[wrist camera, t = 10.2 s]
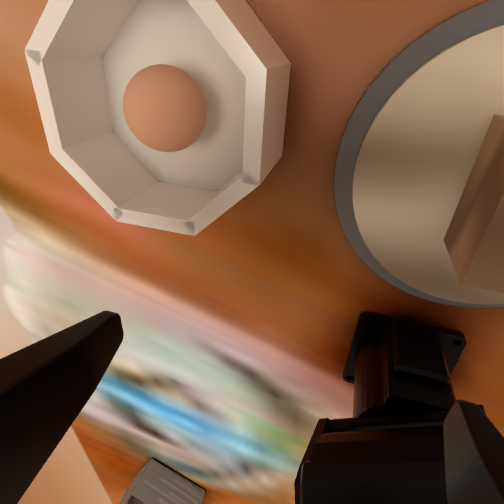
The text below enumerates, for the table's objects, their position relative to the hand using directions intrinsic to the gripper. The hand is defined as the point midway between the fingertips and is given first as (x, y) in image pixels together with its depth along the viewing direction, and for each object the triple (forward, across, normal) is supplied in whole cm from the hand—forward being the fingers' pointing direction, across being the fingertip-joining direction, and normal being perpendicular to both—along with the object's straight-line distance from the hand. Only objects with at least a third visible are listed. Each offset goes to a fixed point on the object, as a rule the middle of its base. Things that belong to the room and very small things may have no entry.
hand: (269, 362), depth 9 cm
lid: (+12, -8, -2) cm, 15 cm away
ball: (+10, +8, -4) cm, 14 cm away
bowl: (+13, +8, -4) cm, 16 cm away
